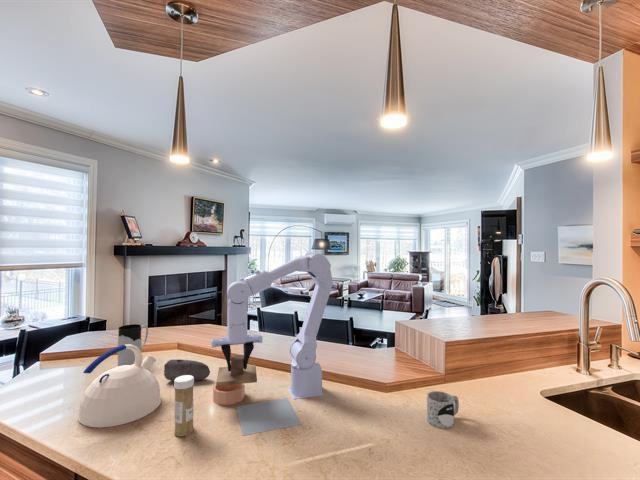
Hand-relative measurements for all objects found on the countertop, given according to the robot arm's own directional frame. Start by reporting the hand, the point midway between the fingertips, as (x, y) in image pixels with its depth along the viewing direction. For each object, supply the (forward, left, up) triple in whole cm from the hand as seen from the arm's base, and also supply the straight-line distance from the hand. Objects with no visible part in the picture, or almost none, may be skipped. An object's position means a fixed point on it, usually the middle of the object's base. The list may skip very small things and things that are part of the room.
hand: (237, 369), depth 97 cm
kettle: (+31, -8, -10) cm, 34 cm away
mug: (-51, +29, -10) cm, 59 cm away
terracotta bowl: (+2, -3, -10) cm, 11 cm away
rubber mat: (-7, +11, -10) cm, 16 cm away
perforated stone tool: (+14, -22, -10) cm, 28 cm away
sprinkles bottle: (+14, +11, -10) cm, 20 cm away
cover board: (0, 0, -2) cm, 2 cm away
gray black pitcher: (+34, -46, -10) cm, 58 cm away
